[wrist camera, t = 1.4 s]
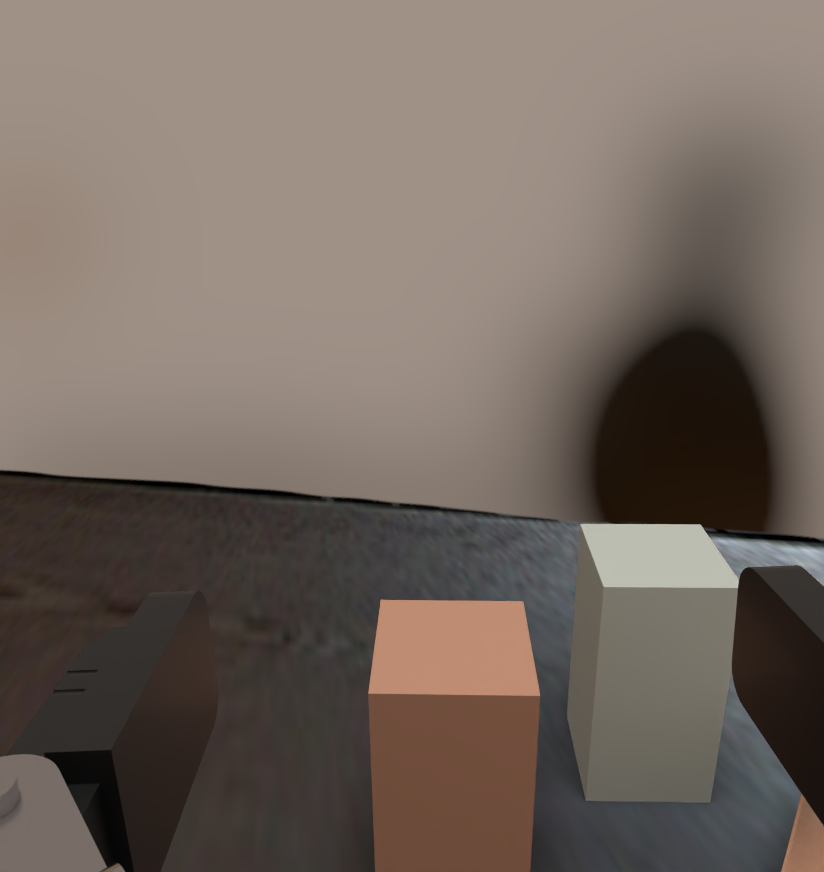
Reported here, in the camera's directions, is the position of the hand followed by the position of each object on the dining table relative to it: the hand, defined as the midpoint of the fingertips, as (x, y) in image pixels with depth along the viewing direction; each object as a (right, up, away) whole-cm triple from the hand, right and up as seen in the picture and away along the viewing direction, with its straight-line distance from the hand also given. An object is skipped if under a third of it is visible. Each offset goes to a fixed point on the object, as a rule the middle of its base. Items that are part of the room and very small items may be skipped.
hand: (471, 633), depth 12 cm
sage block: (+9, -11, +22) cm, 26 cm away
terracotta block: (+1, -13, +17) cm, 21 cm away
